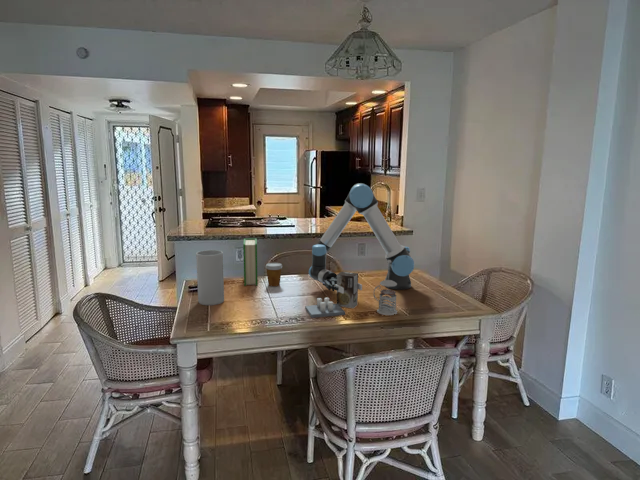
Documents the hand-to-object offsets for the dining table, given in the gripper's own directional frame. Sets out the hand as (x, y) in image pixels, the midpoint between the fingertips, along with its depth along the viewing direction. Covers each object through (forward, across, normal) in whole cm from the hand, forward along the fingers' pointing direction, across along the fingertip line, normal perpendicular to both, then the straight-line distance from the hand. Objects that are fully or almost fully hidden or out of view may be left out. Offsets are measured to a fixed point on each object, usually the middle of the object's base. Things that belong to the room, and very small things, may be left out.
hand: (352, 289), depth 201 cm
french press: (+11, -11, -10) cm, 19 cm away
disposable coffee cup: (-53, +17, -10) cm, 57 cm away
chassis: (-2, +14, -10) cm, 17 cm away
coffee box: (-4, 0, -10) cm, 11 cm away
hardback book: (-66, +26, -10) cm, 72 cm away
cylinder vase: (-41, +56, -10) cm, 70 cm away
